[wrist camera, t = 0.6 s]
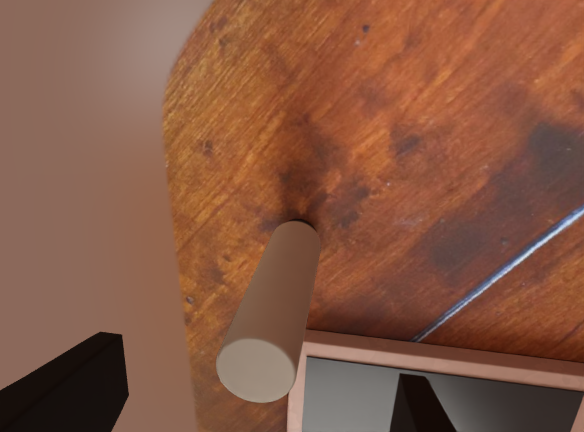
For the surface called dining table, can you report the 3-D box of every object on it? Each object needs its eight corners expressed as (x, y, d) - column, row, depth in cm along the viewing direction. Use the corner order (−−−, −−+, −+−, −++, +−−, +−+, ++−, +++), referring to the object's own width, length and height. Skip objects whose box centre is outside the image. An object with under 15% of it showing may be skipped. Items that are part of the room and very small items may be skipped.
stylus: (274, 253, 21) (215, 397, 12) (275, 209, 20) (213, 331, 11) (321, 258, 20) (294, 409, 12) (324, 214, 19) (298, 342, 11)
